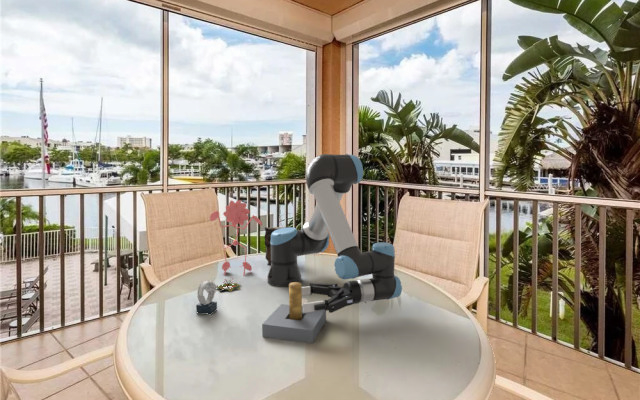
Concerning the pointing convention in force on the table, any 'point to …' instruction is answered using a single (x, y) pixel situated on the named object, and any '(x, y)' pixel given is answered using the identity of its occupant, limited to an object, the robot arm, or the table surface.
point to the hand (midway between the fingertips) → (296, 300)
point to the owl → (267, 242)
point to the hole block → (293, 325)
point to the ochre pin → (295, 301)
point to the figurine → (235, 215)
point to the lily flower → (229, 285)
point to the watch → (207, 304)
